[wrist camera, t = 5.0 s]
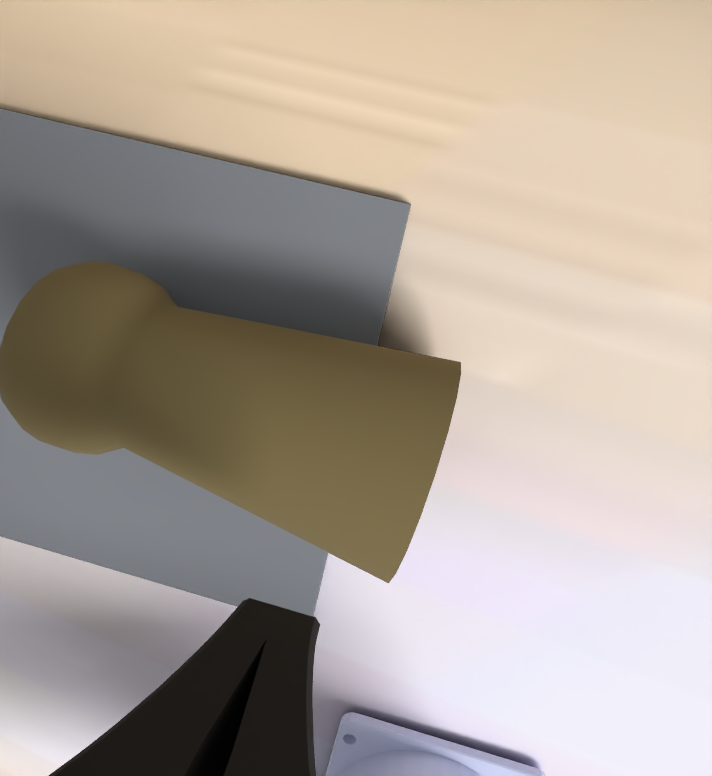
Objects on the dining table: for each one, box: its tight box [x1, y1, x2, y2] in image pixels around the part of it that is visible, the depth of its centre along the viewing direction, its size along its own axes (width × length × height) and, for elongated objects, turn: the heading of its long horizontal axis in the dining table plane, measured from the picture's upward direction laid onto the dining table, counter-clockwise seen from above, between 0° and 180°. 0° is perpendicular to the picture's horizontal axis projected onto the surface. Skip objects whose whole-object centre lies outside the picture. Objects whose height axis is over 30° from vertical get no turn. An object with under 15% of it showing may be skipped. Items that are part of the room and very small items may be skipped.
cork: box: [0, 261, 461, 583], centre depth 15 cm, size 6×6×11 cm
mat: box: [0, 108, 411, 616], centre depth 19 cm, size 15×18×1 cm
